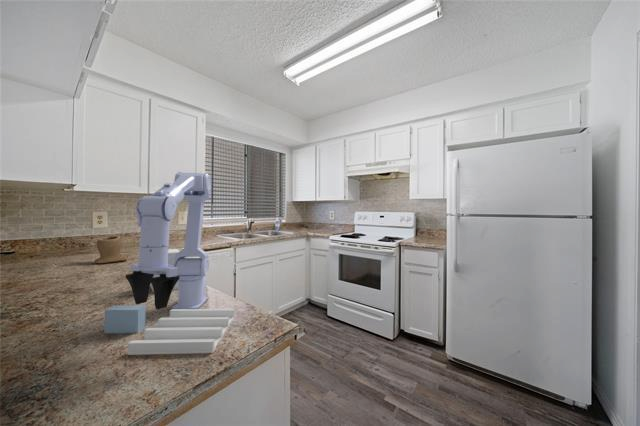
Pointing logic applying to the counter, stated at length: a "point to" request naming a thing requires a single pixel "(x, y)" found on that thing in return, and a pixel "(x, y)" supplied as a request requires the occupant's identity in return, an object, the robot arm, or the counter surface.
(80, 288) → the counter surface
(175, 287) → the supplement box
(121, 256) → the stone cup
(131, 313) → the blue block
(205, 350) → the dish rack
